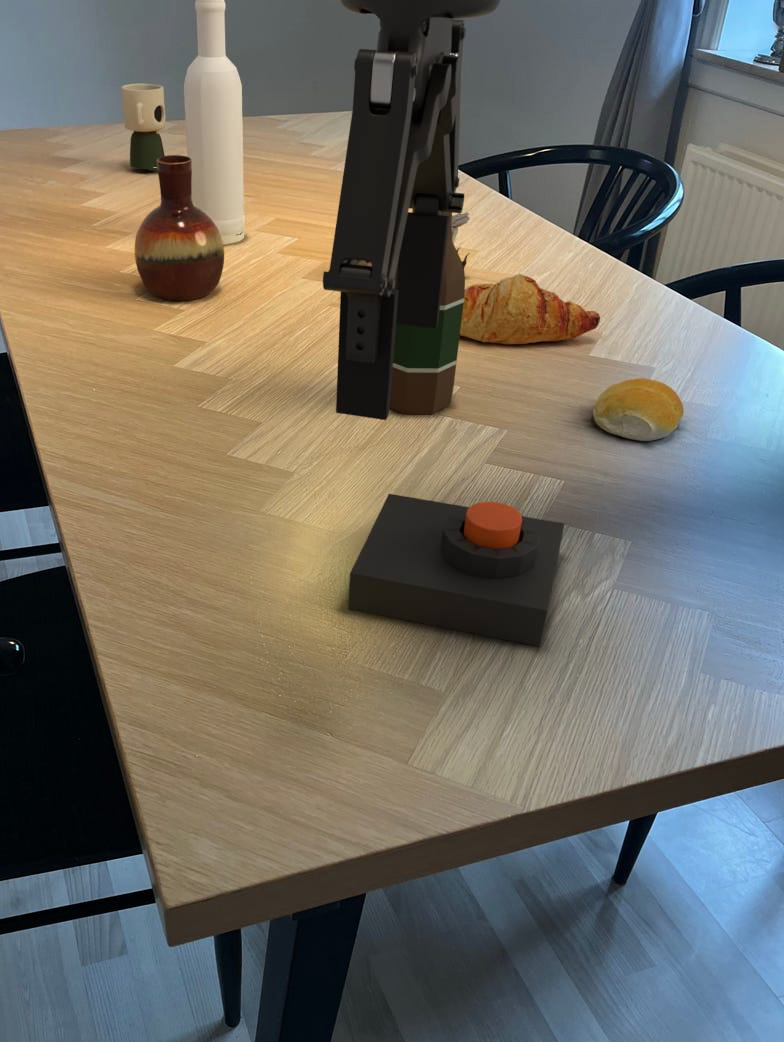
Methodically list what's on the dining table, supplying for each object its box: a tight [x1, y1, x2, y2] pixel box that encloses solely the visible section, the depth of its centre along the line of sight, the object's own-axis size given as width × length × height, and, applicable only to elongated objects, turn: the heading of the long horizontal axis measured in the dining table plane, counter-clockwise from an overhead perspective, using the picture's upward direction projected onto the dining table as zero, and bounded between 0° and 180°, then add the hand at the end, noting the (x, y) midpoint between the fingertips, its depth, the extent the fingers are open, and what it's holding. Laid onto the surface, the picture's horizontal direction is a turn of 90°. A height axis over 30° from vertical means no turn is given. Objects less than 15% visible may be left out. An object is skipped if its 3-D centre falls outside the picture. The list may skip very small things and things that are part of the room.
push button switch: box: [347, 493, 565, 647], centre depth 73 cm, size 14×12×5 cm
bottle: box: [183, 0, 246, 246], centre depth 133 cm, size 8×8×30 cm
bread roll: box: [592, 377, 685, 442], centre depth 96 cm, size 8×9×4 cm
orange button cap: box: [464, 501, 523, 549], centre depth 71 cm, size 4×4×2 cm
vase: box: [134, 154, 225, 302], centre depth 120 cm, size 11×11×15 cm
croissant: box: [460, 273, 601, 345], centre depth 113 cm, size 21×10×8 cm, turn 79°
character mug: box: [121, 83, 167, 173], centre depth 169 cm, size 11×7×13 cm, turn 177°
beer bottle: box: [390, 209, 466, 415], centre depth 93 cm, size 8×8×24 cm
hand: (391, 365), depth 57 cm, fingers open, 13 cm apart
